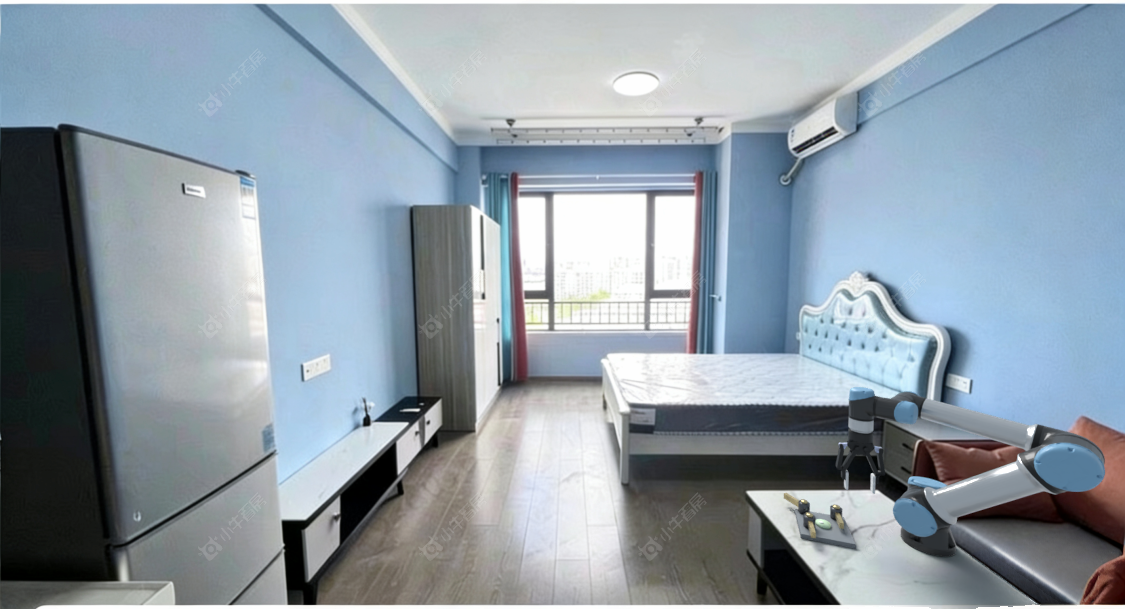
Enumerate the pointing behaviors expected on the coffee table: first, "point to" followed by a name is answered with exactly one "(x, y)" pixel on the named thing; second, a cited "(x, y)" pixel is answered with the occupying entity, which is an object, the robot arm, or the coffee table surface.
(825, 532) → the base plate
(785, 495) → the knob
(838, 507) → the knob
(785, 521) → the coffee table surface
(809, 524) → the knob
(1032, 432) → the robot arm
